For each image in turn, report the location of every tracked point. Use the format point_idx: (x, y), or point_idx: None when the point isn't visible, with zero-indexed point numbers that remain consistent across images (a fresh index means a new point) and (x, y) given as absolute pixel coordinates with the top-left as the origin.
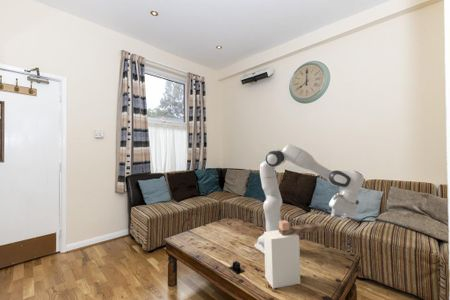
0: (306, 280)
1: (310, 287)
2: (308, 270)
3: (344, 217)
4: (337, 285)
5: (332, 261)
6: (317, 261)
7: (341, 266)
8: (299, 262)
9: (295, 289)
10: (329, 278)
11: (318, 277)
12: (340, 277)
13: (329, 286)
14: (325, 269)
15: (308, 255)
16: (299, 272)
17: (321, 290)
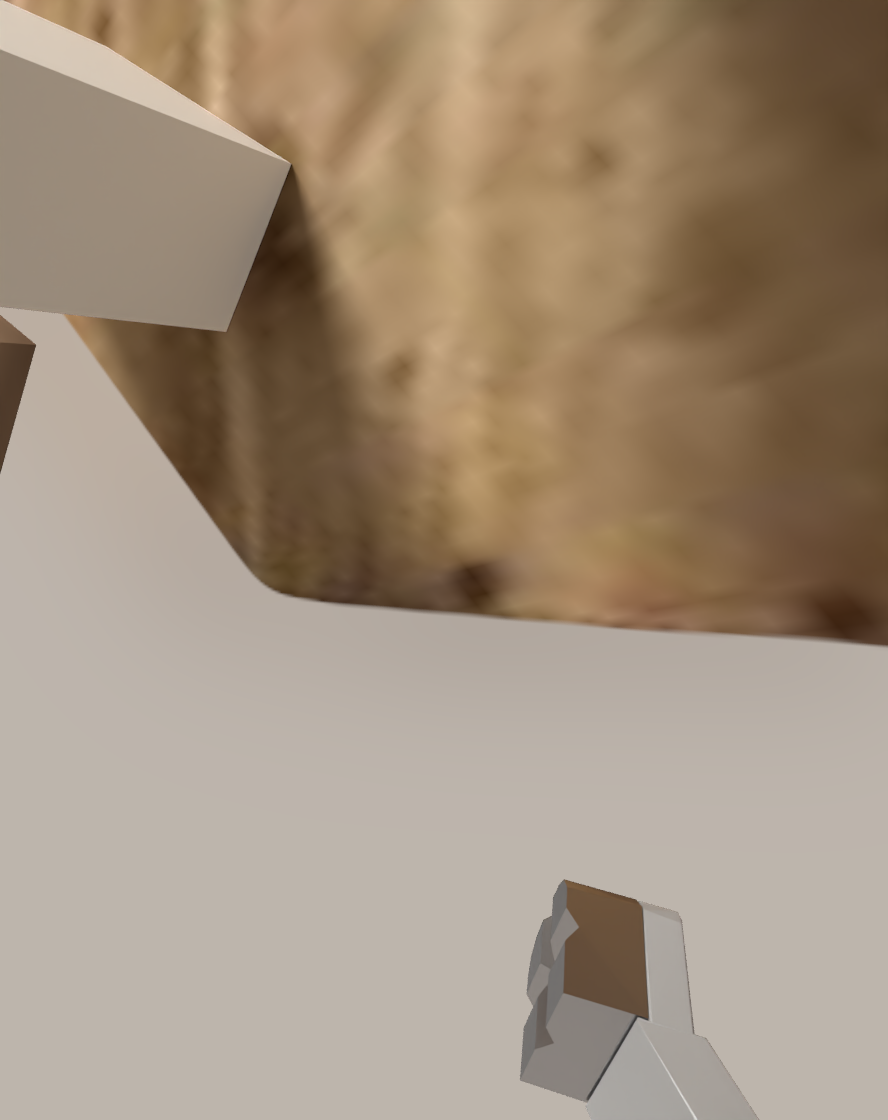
0: (289, 350)
1: (237, 423)
2: (438, 276)
3: (597, 1115)
4: (398, 598)
5: (859, 411)
6: (708, 248)
7: (793, 551)
8: (50, 310)
9: (152, 343)
10: (449, 508)
11: (396, 416)
12: (537, 594)
13: (343, 545)
14: (582, 414)
15: (803, 42)
16: (141, 319)
17: (261, 508)
